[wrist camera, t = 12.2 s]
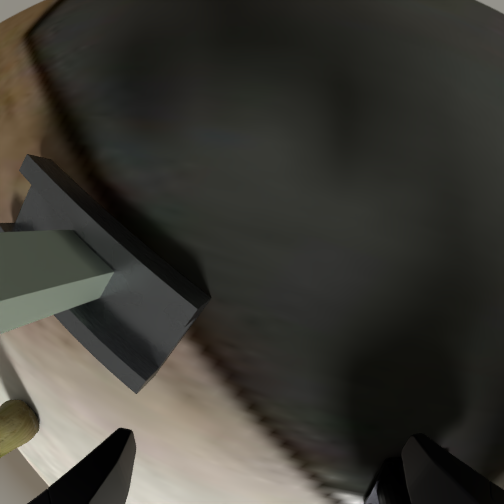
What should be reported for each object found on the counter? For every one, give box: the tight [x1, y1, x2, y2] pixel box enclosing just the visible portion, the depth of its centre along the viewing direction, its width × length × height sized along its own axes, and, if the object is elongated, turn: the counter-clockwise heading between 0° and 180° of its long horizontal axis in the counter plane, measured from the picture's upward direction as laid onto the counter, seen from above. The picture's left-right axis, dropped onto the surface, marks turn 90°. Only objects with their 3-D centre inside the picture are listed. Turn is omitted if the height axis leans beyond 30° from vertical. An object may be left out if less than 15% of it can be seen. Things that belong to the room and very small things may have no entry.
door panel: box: [0, 230, 114, 334], centre depth 15 cm, size 5×2×12 cm, turn 53°
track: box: [0, 154, 211, 394], centre depth 20 cm, size 18×8×3 cm, turn 53°
